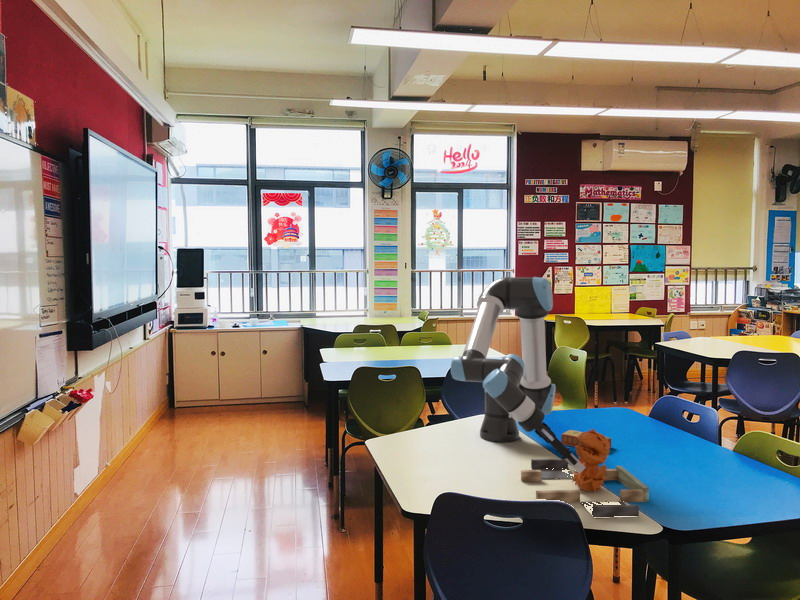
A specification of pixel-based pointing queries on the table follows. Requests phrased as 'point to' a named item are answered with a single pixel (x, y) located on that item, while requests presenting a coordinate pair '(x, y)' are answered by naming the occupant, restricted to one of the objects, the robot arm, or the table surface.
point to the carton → (574, 438)
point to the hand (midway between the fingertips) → (581, 469)
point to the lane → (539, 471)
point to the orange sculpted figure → (591, 460)
